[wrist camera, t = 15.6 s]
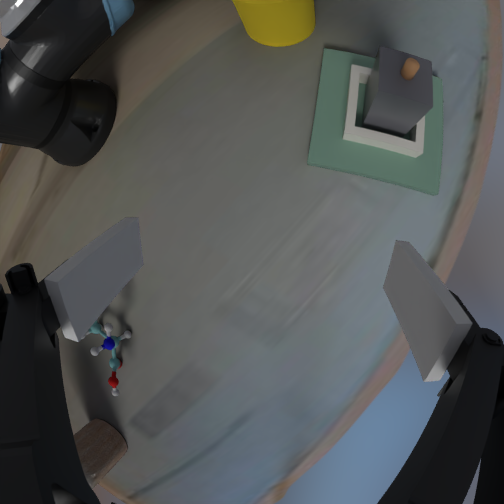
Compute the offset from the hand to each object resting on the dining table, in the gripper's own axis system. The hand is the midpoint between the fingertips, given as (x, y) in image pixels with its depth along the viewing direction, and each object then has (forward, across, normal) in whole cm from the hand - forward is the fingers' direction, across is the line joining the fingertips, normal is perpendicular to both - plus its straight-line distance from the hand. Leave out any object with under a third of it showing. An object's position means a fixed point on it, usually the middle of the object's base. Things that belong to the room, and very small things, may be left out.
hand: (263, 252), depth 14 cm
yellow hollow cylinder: (+29, -1, +22) cm, 37 cm away
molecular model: (+16, -22, -25) cm, 37 cm away
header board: (+22, +12, +9) cm, 27 cm away
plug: (+21, +12, +9) cm, 26 cm away
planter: (+8, -30, -50) cm, 59 cm away
